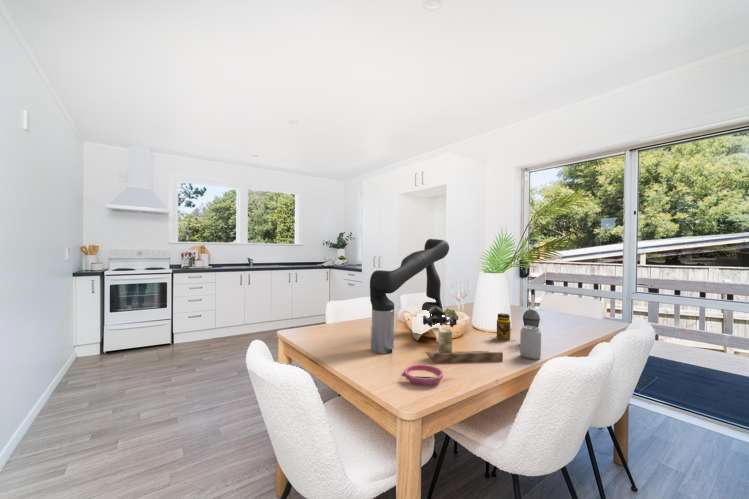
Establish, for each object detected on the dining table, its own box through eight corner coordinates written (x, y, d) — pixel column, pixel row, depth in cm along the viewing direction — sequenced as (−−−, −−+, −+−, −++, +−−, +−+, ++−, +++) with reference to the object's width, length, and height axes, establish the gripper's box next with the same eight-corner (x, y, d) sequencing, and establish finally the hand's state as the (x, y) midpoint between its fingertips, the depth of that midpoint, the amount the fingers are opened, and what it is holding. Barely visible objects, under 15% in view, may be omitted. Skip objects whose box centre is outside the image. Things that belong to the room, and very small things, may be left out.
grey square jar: (544, 360, 126) (545, 329, 126) (525, 359, 127) (525, 329, 127) (535, 354, 134) (535, 324, 134) (517, 353, 134) (517, 324, 134)
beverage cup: (542, 346, 145) (543, 301, 145) (526, 346, 145) (527, 301, 145) (535, 341, 152) (535, 298, 152) (519, 341, 152) (520, 298, 152)
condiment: (503, 342, 151) (503, 316, 151) (489, 337, 159) (490, 312, 159) (514, 340, 154) (515, 315, 154) (501, 336, 162) (501, 311, 162)
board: (434, 367, 117) (434, 354, 117) (425, 356, 129) (425, 344, 129) (502, 365, 120) (502, 352, 120) (487, 354, 132) (487, 343, 132)
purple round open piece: (396, 381, 105) (396, 371, 105) (417, 370, 114) (417, 361, 114) (430, 392, 97) (430, 382, 97) (449, 379, 107) (449, 370, 107)
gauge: (440, 360, 120) (441, 333, 120) (438, 354, 126) (438, 329, 126) (452, 361, 120) (453, 333, 120) (449, 355, 126) (450, 329, 126)
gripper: (421, 307, 152) (424, 315, 136) (452, 308, 151) (459, 315, 135) (421, 323, 152) (424, 333, 136) (451, 324, 151) (459, 333, 135)
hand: (441, 324), depth 135 cm, fingers open, 8 cm apart
